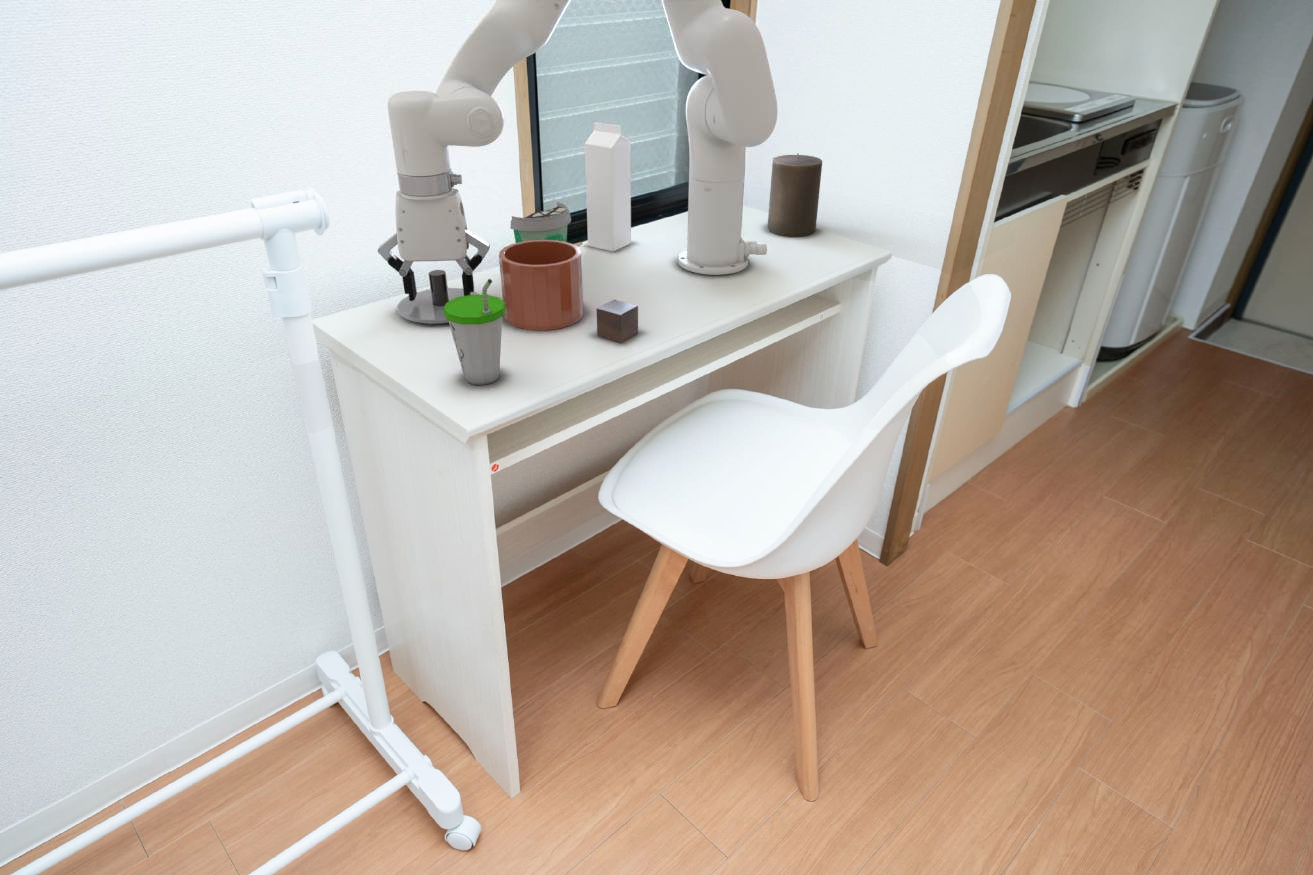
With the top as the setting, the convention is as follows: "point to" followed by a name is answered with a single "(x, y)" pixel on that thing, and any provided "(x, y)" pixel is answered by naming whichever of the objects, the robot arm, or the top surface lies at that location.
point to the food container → (542, 225)
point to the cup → (477, 334)
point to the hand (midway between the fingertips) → (440, 296)
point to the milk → (608, 187)
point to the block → (617, 320)
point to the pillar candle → (794, 194)
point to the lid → (430, 300)
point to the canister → (541, 284)
